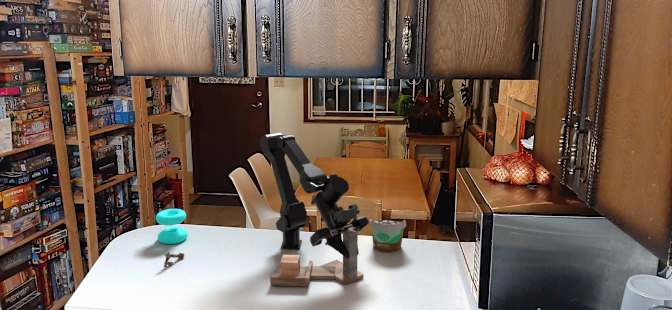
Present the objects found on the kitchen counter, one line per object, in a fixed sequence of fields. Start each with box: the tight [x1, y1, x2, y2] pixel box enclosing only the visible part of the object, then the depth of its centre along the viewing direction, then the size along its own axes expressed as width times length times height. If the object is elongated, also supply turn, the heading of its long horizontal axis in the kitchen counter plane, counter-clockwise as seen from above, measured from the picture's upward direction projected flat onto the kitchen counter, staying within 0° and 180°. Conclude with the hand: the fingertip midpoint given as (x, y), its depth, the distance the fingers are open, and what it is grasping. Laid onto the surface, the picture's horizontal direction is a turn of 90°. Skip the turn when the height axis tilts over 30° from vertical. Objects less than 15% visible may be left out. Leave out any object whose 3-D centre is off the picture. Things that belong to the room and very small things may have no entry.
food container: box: [368, 218, 407, 253], centre depth 166 cm, size 12×6×10 cm, turn 80°
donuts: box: [155, 208, 189, 245], centre depth 175 cm, size 10×10×10 cm
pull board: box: [269, 229, 365, 287], centre depth 147 cm, size 21×24×15 cm
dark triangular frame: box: [163, 252, 185, 268], centre depth 158 cm, size 2×8×4 cm, turn 157°
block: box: [279, 254, 301, 276], centre depth 148 cm, size 5×5×5 cm
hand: (353, 256), depth 145 cm, fingers closed on pull board, 3 cm apart
